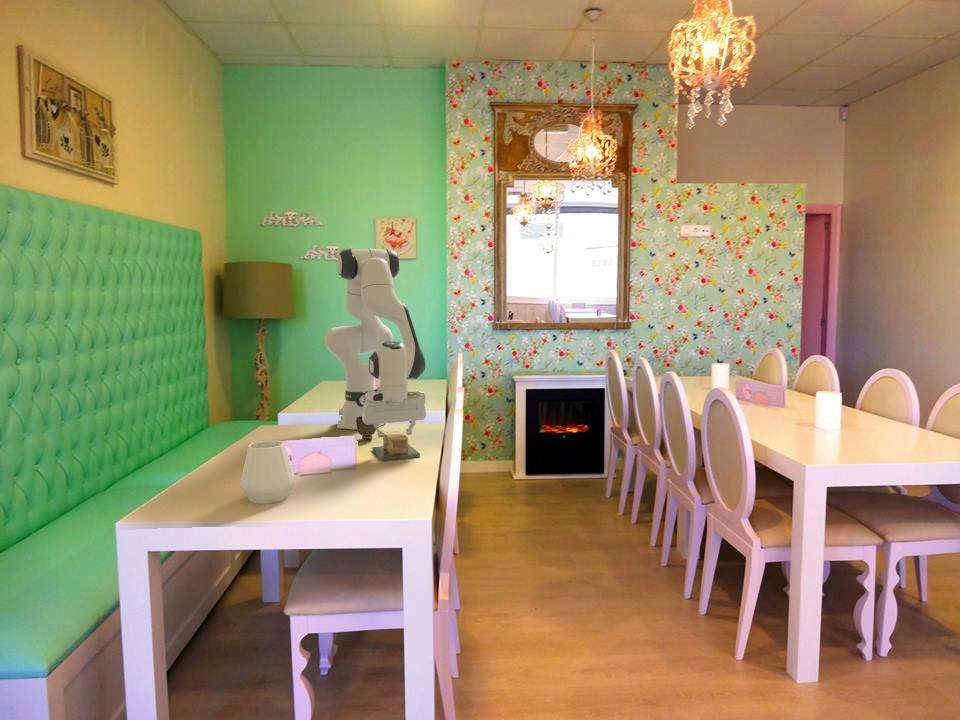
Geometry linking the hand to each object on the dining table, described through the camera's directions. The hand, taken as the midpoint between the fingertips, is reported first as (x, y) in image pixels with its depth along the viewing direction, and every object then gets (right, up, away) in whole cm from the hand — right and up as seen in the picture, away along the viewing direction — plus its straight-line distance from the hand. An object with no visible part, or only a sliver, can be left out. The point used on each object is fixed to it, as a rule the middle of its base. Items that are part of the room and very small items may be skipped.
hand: (394, 435), depth 208 cm
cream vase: (-27, -11, -43) cm, 51 cm away
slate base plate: (0, -6, 0) cm, 6 cm away
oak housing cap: (0, -5, 0) cm, 5 cm away
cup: (-13, -4, +21) cm, 25 cm away
